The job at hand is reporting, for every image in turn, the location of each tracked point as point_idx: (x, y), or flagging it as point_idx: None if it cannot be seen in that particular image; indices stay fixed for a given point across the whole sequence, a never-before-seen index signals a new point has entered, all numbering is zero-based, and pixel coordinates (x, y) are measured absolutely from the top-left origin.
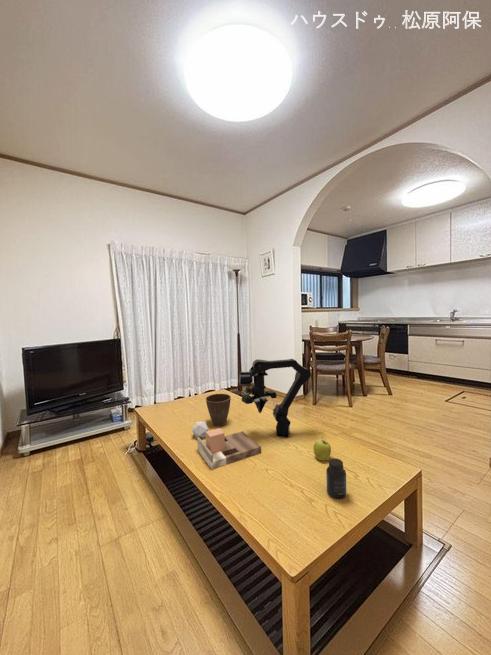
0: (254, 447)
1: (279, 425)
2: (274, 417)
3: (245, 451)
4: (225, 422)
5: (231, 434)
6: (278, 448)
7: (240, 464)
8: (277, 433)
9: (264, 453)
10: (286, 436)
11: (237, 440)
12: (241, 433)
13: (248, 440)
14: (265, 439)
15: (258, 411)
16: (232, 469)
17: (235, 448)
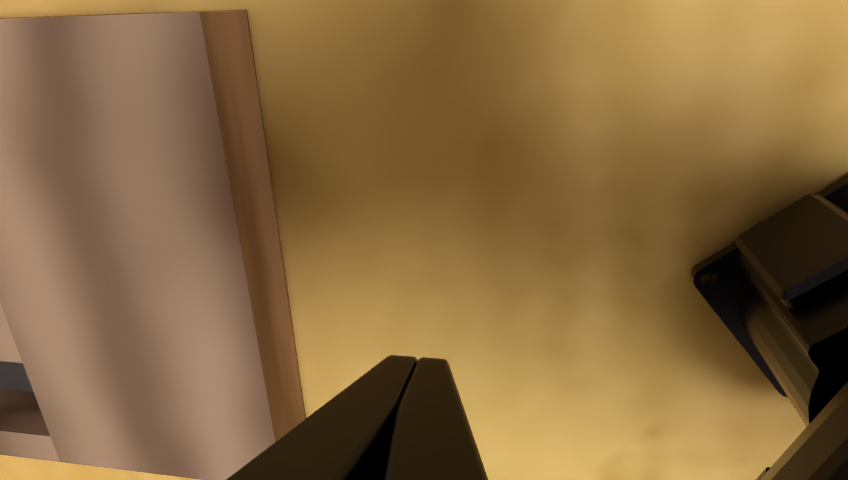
0: (215, 464)
1: (801, 396)
2: (824, 431)
3: (111, 467)
4: None
5: (10, 28)
6: (503, 476)
7: None
8: (737, 264)
9: None
10: (778, 383)
11: (71, 241)
12: (164, 83)
13: (200, 317)
14: (497, 259)
15: (367, 382)
16: (27, 474)
17: (28, 371)
